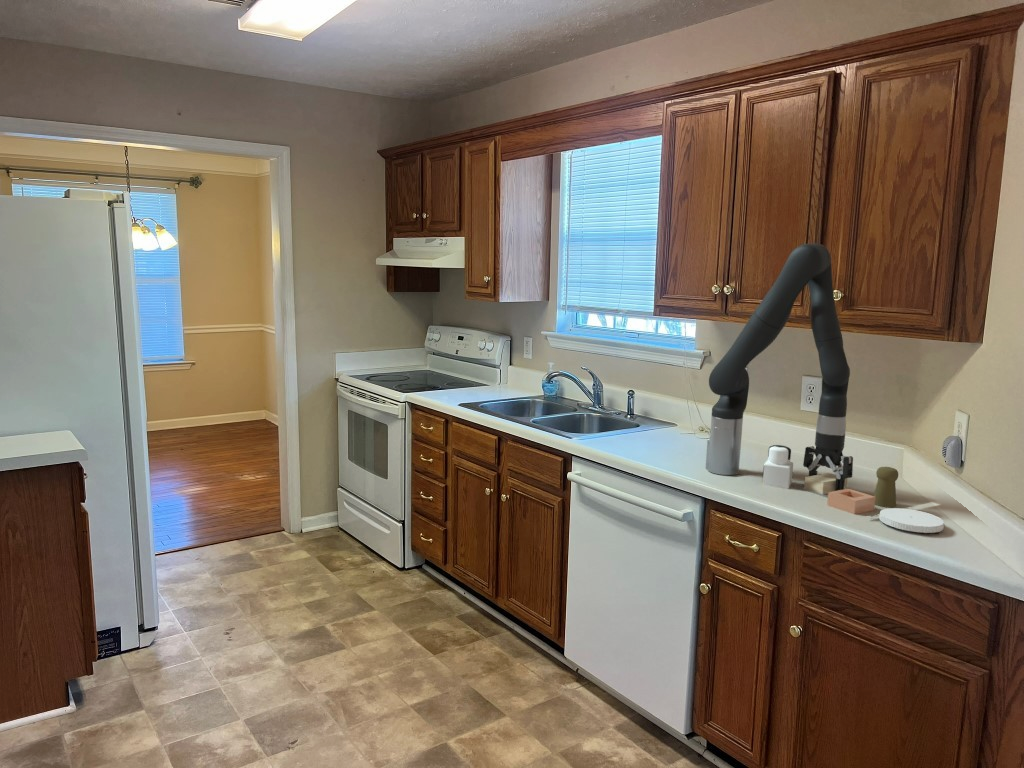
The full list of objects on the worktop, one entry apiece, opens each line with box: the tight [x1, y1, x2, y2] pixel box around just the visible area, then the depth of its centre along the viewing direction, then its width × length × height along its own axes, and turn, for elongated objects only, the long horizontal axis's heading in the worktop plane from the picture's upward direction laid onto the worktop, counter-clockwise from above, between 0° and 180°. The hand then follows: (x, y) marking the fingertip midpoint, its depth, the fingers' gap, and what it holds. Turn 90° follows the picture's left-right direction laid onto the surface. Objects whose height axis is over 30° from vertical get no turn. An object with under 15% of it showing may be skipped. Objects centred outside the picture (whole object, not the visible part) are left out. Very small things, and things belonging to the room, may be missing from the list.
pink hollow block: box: [826, 488, 876, 515], centre depth 194 cm, size 8×8×4 cm
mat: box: [792, 484, 828, 499], centre depth 210 cm, size 12×12×1 cm
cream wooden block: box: [804, 472, 848, 495], centre depth 210 cm, size 6×10×4 cm, turn 119°
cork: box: [873, 466, 899, 509], centre depth 197 cm, size 6×6×11 cm
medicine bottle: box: [761, 444, 794, 490], centre depth 214 cm, size 7×7×12 cm
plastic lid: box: [879, 507, 945, 534], centre depth 184 cm, size 14×14×2 cm
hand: (825, 487), depth 210 cm, fingers open, 8 cm apart
